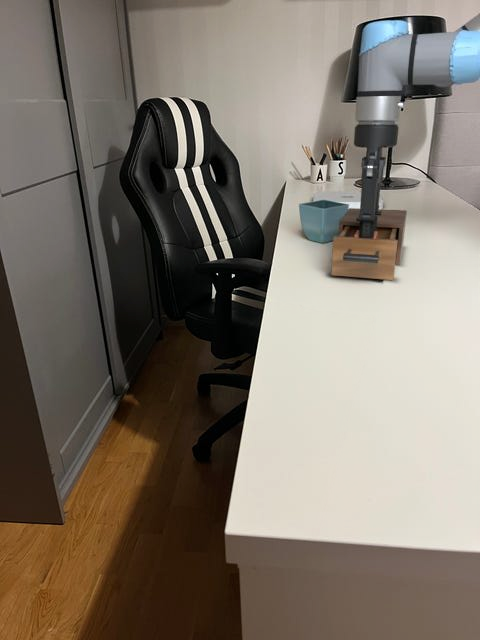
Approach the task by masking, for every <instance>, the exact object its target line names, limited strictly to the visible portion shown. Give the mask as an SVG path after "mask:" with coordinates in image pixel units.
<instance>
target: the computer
mask: <svg viewBox="0 0 480 640" xmlns="http://www.w3.org/2000/svg"><path fill="white" fill-rule="evenodd" d="M319 200H328V201H334V202H339V203H344V204H349V207H348V209H349V208H358V209H360V203H361V191H352V190H351V191H344V190H342V191H341V190H339V191H338V190H332V191H331V190H322V191H321V190H320V191H315V192H314V195H313V199H312V202H313V201H319ZM383 208H384V200H383V198H382V195H381V194H380V197H379V209H383ZM383 210H384V209H383Z"/></svg>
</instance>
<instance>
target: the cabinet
mask: <svg viewBox="0 0 480 640" xmlns="http://www.w3.org/2000/svg"><path fill="white" fill-rule="evenodd" d="M378 211H382V212H381V216H380V215H375V216H377V227H389V228H397V234H396V240H398V242H397V251H396V261H395V266H400V264H401V259H402V254H403V247H404V242H405V231H406V223H407V222H406V221H407V213H408V210H405V209H403V210H402V209H378ZM359 215H360V209H358V208H349V209H348V211H347V212H346V213H345V214H344V216H343V217H342V218H341V220H340V221H339V234H338V236H340V234H341V233H342V231H343V230H344V228H345V227H346V225H350V226H360V222H358V221H356V218H359Z"/></svg>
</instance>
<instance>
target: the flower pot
mask: <svg viewBox="0 0 480 640" xmlns="http://www.w3.org/2000/svg"><path fill="white" fill-rule="evenodd" d="M348 207H349V204H344V203H339V202H334V201H328V200H319V201H313V200H312V201H308V202H303V203H299V204H298V210H299V219H300V224H301V225H300V226H301V228H302V231H303V233H304V235H305V237H306V238H307V239H308V240H309V241H313V242H317V243H320V244H324V243H329V242H333V238H334V236H338V234H339V221H340V220H341V218H342V217H343V216H344V214H345V213H346V212H347V211H348Z"/></svg>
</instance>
